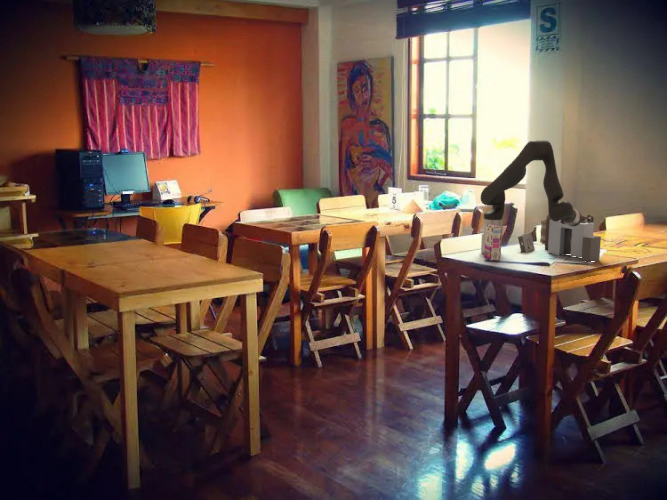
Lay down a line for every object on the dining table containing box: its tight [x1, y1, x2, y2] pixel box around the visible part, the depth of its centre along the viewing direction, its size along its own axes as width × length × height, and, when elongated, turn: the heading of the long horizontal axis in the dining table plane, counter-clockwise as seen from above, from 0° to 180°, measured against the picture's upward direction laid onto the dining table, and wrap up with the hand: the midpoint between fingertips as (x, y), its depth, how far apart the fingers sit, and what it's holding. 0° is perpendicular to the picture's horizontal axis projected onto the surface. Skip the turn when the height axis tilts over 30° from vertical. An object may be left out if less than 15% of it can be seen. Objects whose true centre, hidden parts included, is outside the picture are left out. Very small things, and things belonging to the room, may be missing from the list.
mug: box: [539, 219, 546, 244], centre depth 427 cm, size 16×11×12 cm
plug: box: [580, 234, 602, 263], centre depth 371 cm, size 9×4×12 cm, turn 129°
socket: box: [547, 220, 595, 257], centre depth 386 cm, size 8×20×17 cm, turn 39°
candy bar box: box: [483, 224, 503, 262], centre depth 374 cm, size 11×5×16 cm, turn 5°
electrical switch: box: [517, 232, 535, 253], centre depth 400 cm, size 9×5×9 cm, turn 141°
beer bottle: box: [544, 201, 559, 251], centre depth 402 cm, size 8×8×30 cm
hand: (580, 221), depth 368 cm, fingers open, 8 cm apart
